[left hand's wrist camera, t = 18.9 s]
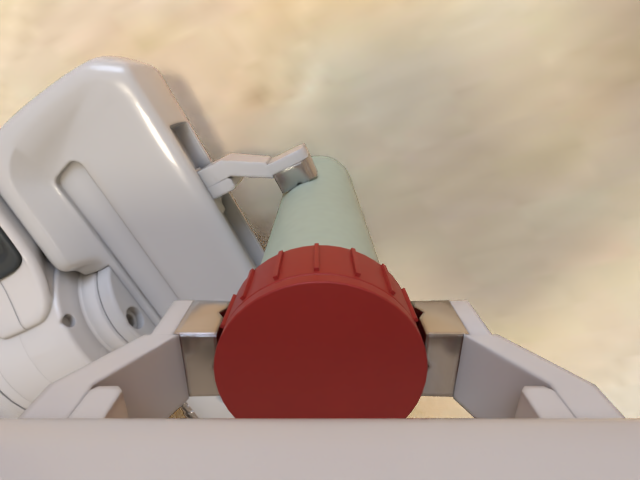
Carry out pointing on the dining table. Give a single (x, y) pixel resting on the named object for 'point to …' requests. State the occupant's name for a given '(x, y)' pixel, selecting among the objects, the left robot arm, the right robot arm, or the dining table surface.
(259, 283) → the lid
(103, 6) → the dining table surface
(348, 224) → the green cylinder
